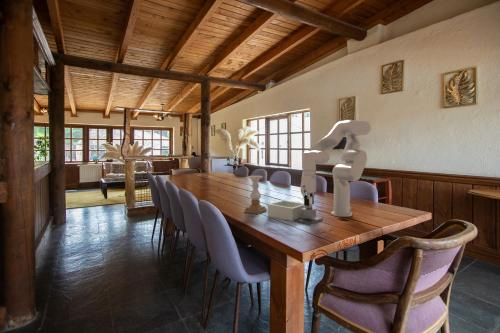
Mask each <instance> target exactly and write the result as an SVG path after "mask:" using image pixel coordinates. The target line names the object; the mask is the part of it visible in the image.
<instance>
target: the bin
mask: <svg viewBox="0 0 500 333" xmlns="http://www.w3.org/2000/svg"><path fill="white" fill-rule="evenodd" d="M303 208H305V205H304V202H303V203H302V202H299V201H297V202H296V201H289V200H279V201H275V202H271V203H267V217H268V218H271V219H276V220H280V221H284V222H289V223H295V219H298V218H301V217H302V209H303Z"/></svg>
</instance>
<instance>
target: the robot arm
mask: <svg viewBox="0 0 500 333" xmlns="http://www.w3.org/2000/svg"><path fill="white" fill-rule="evenodd" d="M371 126H372V125H371V124H370V122H368V121H366V120H354V119H352V120H351V119H348V120H341V121H338V122H337V123H335V124H334V126H333V127H332V128H331V130H330V131H329V132H328V133H327V134H326V136H324V137H323V138H321V139H320V140H318V141H317V142H315V143H314V144H313V145H312V146H311V147H310V148H309V149H308V150H307V151H303V153H302V157H301V158H302V162H301V163H302V170H301V171H302V175H301V180H300V193H301V196H302V197H303V203H304V205H306V206H309V196H312V197H313V205H315V201H314V200H315V194H316V193H317V177H316V176H317V164H318V165H324V164H327V163H328V162H329V160H330V154H329V153H328V152H327V151H328V150H329V149H333V148H335V147H337V146H338V145H339V144H340V142H341V141H342V140H343V139H344V137H345V138H346V143H345V147H344V149H343V151H342V153H341V156H340V162H341V163H342V164H336V165H334V167H333V169H332V179H333V210H332V211H331V213H330V214H331V215H332V216H334V217H340V218H347V217H348V218H349V217H352V216H353V212H351V210H352V207H351V204H350V203H351V202H350V201H351V187H350V182H358V181H359V180H360V178H361V177H362V174H363V172H364V169H365V167H366V164H367V162H368V154H367V152H366V151H365V150H363V149H361V141H360V139H359V138H358V136H367V135H368V134H370V132H371V130H372V129H371V128H372V127H371ZM326 150H327V151H326Z"/></svg>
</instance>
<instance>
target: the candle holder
mask: <svg viewBox="0 0 500 333" xmlns="http://www.w3.org/2000/svg"><path fill="white" fill-rule="evenodd" d="M247 178H248V179H251V181H252V184H251V187H252V191H251V193H250V195H249V197H250V199H251V200H250V203H251V204H250V205H248V206H246V207H245V209H244V213H246V212H247V213H246V214H252V213H253V214H252V215H260V213H261V214H263V213H266V212H268V209H267V207H266V206H264V205H262V204H260V203H261V200H260V199H261V198H262V194H261V193H260V191H259V188H260V185H259V181H260V179H263V178H264V176H263V175H248V176H247Z"/></svg>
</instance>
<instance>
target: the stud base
mask: <svg viewBox="0 0 500 333" xmlns="http://www.w3.org/2000/svg"><path fill="white" fill-rule="evenodd" d="M323 220H324V218H323V217H319V216H316V218H313V219H307V218H302V217H301V218H298V219H295V221H294V223H297V224H302V225H307V226H312V225H315V224H317V223H319V222H323Z"/></svg>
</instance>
